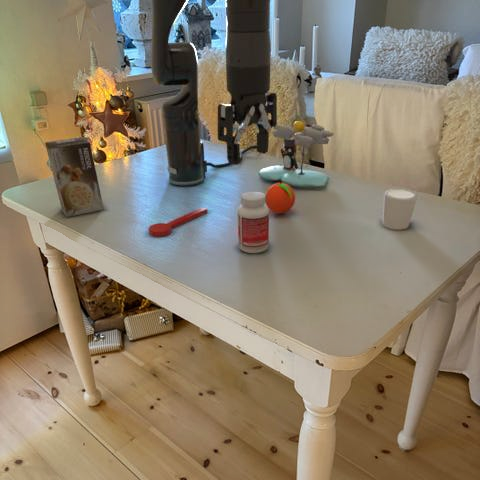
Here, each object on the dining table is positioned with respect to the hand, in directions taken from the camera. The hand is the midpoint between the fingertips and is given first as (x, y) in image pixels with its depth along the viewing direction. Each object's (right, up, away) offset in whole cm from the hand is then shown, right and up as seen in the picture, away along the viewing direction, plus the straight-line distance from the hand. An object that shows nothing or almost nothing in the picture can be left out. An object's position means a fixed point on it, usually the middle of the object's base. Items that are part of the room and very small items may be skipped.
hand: (248, 157), depth 92 cm
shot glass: (+33, -9, +17) cm, 38 cm away
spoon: (-16, -9, +19) cm, 26 cm away
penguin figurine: (+13, +7, +41) cm, 44 cm away
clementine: (+8, -5, +23) cm, 25 cm away
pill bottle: (+1, -16, +9) cm, 18 cm away
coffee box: (-40, -4, +27) cm, 49 cm away
